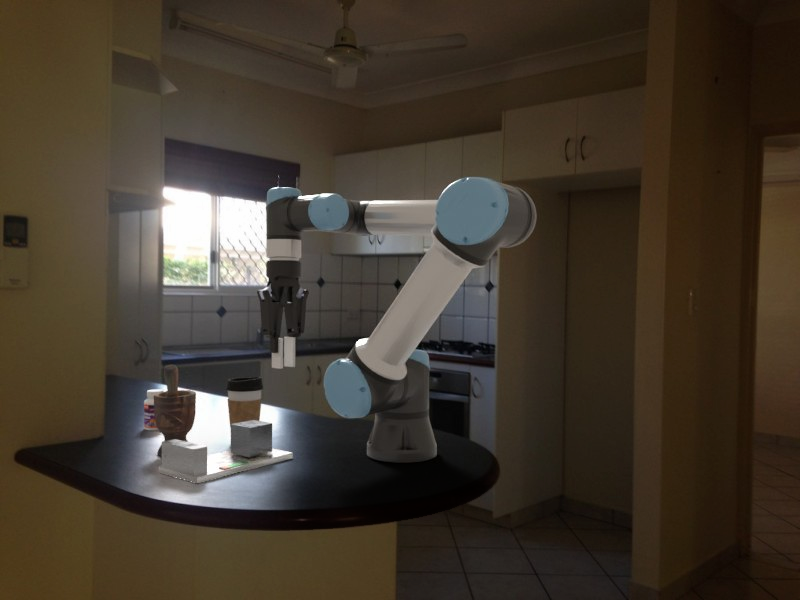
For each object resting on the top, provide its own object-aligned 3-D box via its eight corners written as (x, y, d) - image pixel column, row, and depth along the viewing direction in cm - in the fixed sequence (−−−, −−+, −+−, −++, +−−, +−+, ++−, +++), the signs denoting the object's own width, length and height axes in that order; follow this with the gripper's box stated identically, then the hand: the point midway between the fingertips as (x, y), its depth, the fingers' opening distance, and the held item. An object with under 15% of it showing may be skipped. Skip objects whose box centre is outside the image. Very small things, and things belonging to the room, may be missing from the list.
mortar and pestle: (204, 458, 145) (204, 363, 144) (161, 464, 140) (161, 365, 140) (190, 447, 154) (190, 358, 154) (150, 452, 150) (149, 360, 150)
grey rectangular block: (279, 453, 143) (279, 424, 143) (257, 459, 139) (257, 429, 138) (253, 447, 148) (253, 419, 148) (230, 452, 144) (230, 424, 144)
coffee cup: (254, 447, 155) (254, 380, 155) (219, 445, 157) (219, 379, 157) (268, 439, 163) (268, 375, 163) (235, 437, 165) (235, 374, 165)
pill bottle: (139, 430, 172) (139, 391, 172) (152, 426, 177) (151, 388, 177) (158, 431, 171) (158, 392, 171) (170, 427, 176) (170, 389, 176)
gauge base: (292, 458, 145) (292, 429, 145) (197, 484, 126) (197, 450, 126) (254, 449, 153) (254, 421, 153) (158, 472, 134) (158, 441, 133)
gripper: (298, 261, 159) (297, 362, 160) (243, 258, 146) (243, 369, 147) (321, 260, 155) (321, 365, 155) (267, 258, 142) (267, 372, 142)
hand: (283, 367), depth 151 cm, fingers open, 3 cm apart
